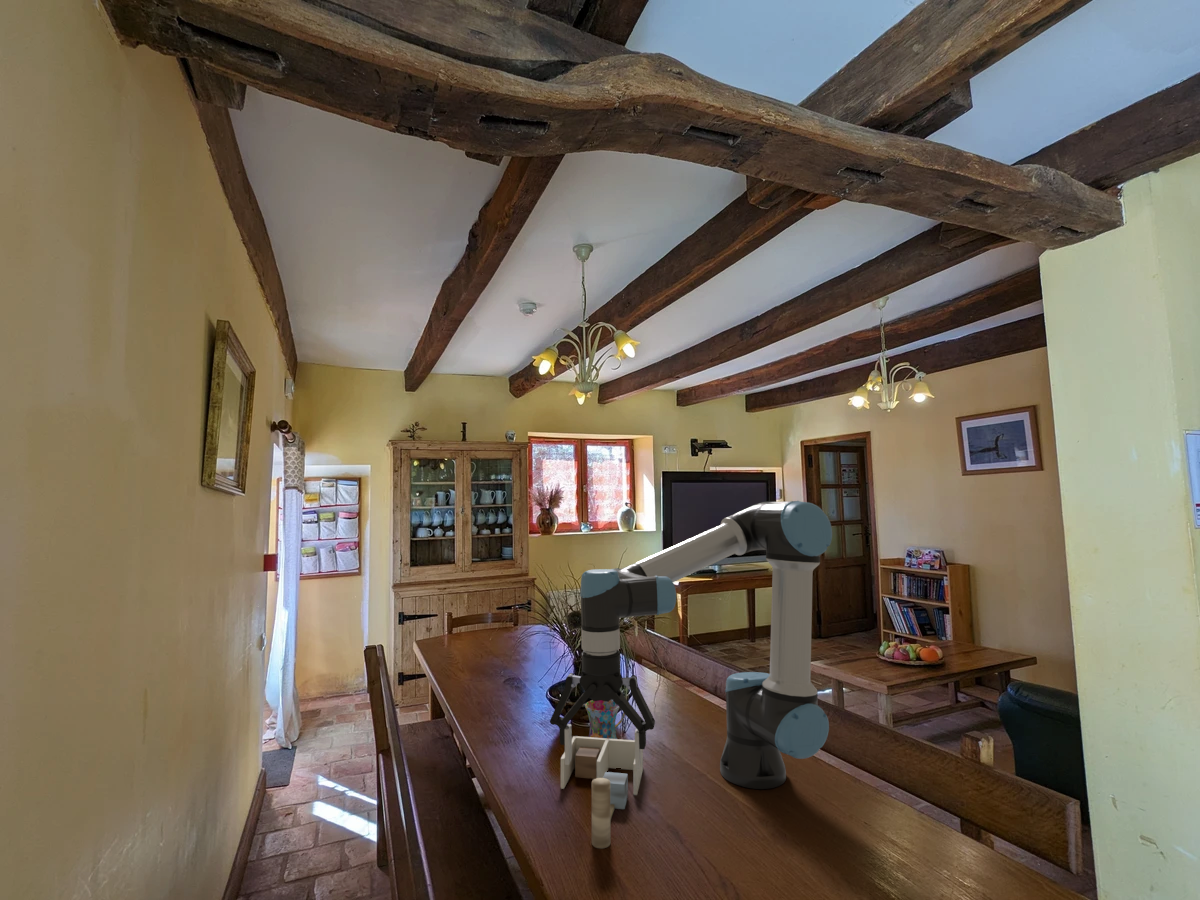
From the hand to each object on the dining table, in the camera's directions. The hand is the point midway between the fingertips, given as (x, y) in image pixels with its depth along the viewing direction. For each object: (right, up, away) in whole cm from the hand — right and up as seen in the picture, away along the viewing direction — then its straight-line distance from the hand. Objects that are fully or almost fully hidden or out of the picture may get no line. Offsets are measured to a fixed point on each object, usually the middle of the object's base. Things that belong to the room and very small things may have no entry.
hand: (603, 763), depth 111 cm
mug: (+1, -19, +43) cm, 47 cm away
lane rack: (0, -17, +25) cm, 30 cm away
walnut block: (-3, -17, +27) cm, 32 cm away
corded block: (+1, -15, +7) cm, 17 cm away
